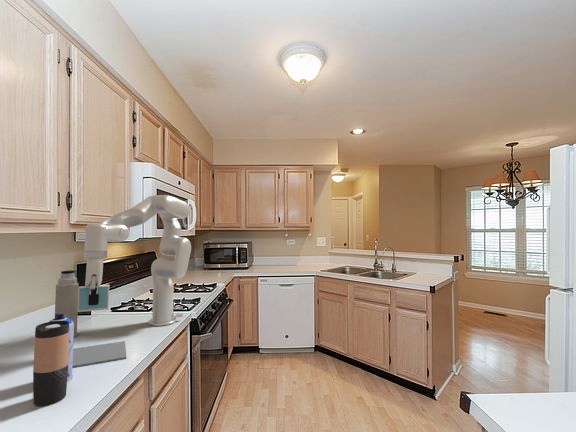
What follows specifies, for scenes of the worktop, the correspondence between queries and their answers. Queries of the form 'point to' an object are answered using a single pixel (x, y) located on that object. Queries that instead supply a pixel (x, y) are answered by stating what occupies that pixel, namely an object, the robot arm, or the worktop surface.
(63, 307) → the thermos bottle
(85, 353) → the mat
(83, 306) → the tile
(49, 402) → the travel mug
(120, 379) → the worktop surface
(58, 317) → the aerosol can
